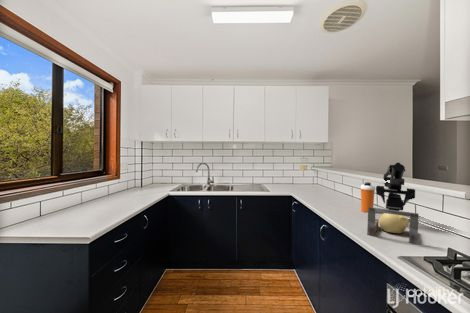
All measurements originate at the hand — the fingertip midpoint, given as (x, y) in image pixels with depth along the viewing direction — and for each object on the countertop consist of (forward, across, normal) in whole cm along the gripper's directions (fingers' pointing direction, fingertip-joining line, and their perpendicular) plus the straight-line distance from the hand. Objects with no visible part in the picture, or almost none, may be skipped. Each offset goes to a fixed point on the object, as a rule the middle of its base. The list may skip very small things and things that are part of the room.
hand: (393, 204), depth 137 cm
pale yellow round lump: (+17, +1, +1) cm, 17 cm away
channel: (+20, +1, -2) cm, 20 cm away
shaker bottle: (-11, -17, +30) cm, 36 cm away
